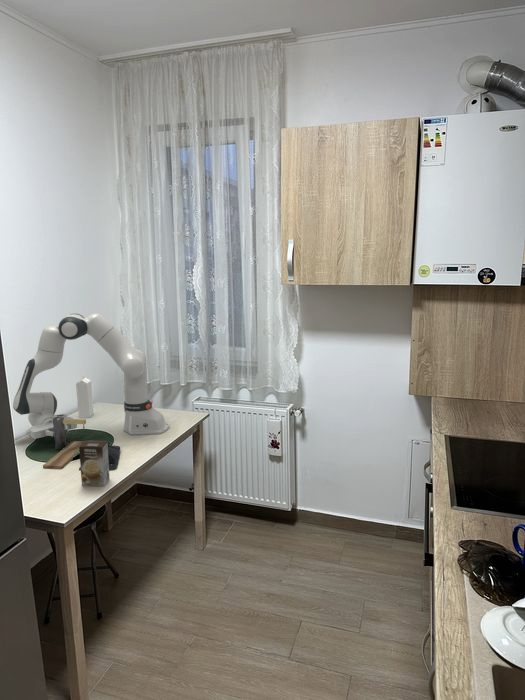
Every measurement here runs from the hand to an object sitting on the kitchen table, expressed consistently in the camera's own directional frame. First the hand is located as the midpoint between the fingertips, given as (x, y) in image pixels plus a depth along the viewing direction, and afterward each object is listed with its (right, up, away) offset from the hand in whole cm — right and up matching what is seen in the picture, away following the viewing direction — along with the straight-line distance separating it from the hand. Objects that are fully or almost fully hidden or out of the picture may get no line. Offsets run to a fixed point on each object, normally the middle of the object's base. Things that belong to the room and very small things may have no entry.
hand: (60, 432), depth 220 cm
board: (+5, -9, -5) cm, 12 cm away
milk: (-5, +1, +45) cm, 45 cm away
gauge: (+4, -7, +2) cm, 9 cm away
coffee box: (+26, -14, -30) cm, 42 cm away
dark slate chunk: (+22, -11, -10) cm, 27 cm away
